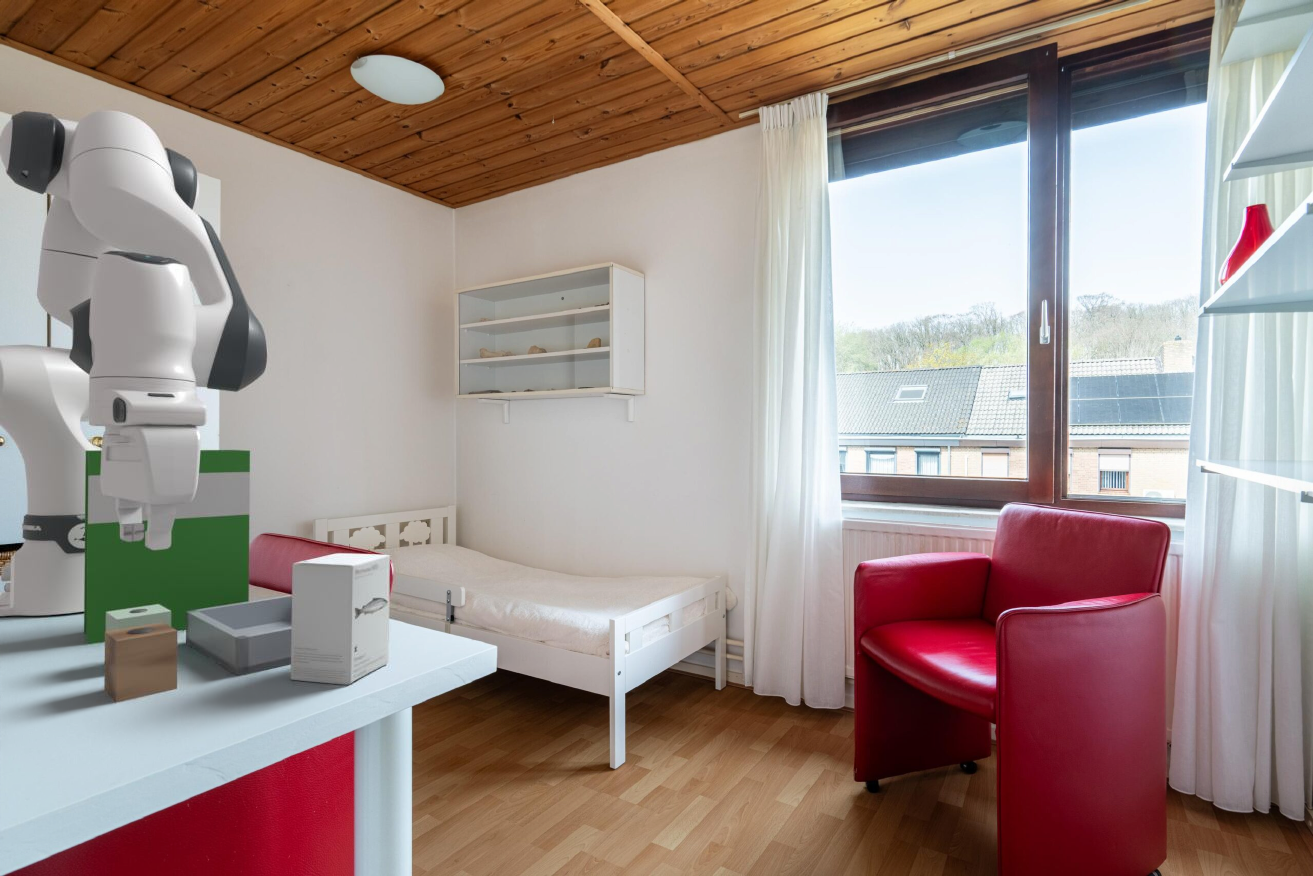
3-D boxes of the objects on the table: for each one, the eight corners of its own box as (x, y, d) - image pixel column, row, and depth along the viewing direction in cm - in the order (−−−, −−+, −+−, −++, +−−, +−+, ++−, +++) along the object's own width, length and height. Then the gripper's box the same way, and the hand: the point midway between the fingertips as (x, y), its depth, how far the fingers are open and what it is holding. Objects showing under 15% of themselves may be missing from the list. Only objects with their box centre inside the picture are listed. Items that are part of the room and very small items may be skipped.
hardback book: (86, 644, 86) (88, 451, 86) (83, 632, 92) (85, 450, 92) (248, 620, 98) (249, 450, 98) (237, 610, 103) (238, 449, 103)
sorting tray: (185, 643, 87) (186, 611, 87) (301, 621, 97) (302, 593, 97) (238, 675, 75) (238, 638, 75) (363, 647, 86) (364, 614, 86)
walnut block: (104, 690, 71) (104, 630, 71) (162, 678, 74) (163, 621, 74) (116, 703, 67) (116, 640, 67) (177, 689, 71) (177, 629, 71)
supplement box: (350, 686, 72) (351, 565, 72) (288, 681, 74) (289, 562, 74) (391, 664, 79) (392, 553, 79) (333, 659, 81) (334, 551, 81)
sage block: (105, 664, 79) (105, 611, 79) (158, 654, 82) (158, 603, 83) (116, 674, 75) (116, 618, 75) (170, 663, 79) (171, 610, 79)
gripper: (82, 412, 75) (82, 539, 75) (133, 404, 62) (133, 558, 62) (152, 414, 80) (152, 533, 80) (213, 406, 67) (213, 550, 67)
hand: (144, 544), depth 71 cm, fingers open, 8 cm apart
